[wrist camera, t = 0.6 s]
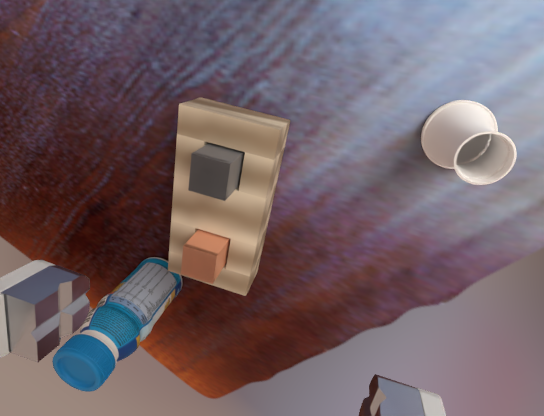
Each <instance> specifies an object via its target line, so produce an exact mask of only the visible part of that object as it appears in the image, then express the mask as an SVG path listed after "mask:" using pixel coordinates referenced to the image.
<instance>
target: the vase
mask: <svg viewBox="0 0 544 416" xmlns="http://www.w3.org/2000/svg"><path fill="white" fill-rule="evenodd" d="M421 144H422V148H423V150H424V152H425V154H426V155H427V157H428V158H429V159H430V160H431V161H432V162H433V163H435V164H437V165H438V166H441V167H444V168H449V169H455V171H456V173H457V174H458V176H459V177H460V178H461V179H463V180H464V181H466V182H468V183H471V184H475V185H485V184H490V183H493V182H496V181H498V180H500V179H501V178H503V177H504V176H505V175H506V174H507V173H508V172H509V171H510V170H511V169H512V167H513V165H514V163H515V160H516V147H515V145H514V143H513V141H512V140H511V139H510V138H509V137H508V136H506V135H504V134H502V133H499V132H498V127H497V122H496V119H495V117H494V115H493V114H492V112H491V111H490V110H489V109H488V108H486V107H485V106H483V105H481V104H479V103H477V102H474V101H469V100H458V101H453V102H449V103H447V104H445V105H443V106H441V107H439V108H438V109H436V110H435V111H434V112H433V113H432V114H431V115H430V116H429V117H428V119H427V120H426V122H425V124H424V126H423V129H422V133H421Z"/></svg>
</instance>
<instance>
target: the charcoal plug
mask: <svg viewBox="0 0 544 416" xmlns="http://www.w3.org/2000/svg"><path fill="white" fill-rule="evenodd" d="M244 155H245V152H243V151H239V150H235V149H231V148H228V147H224V146H220V145H217V144H213V143H208V144H207V145H205V146H203V147H202V148H200V149H198V150H197V151H195V152H193V153H192V155H191V166H190V177H189V188H188V190H189V191H192V192H196V193H199V194H203V195H206V196H209V197H213V198H216V199H220V200H223V201H225V200H226V199H227V198H228V197H229V196H230V195H231V194H232V193H233V192H234V190H235V189H236V188H237V187H238V186H239V185H240V179H241V173H242V167H243V161H244Z"/></svg>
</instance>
